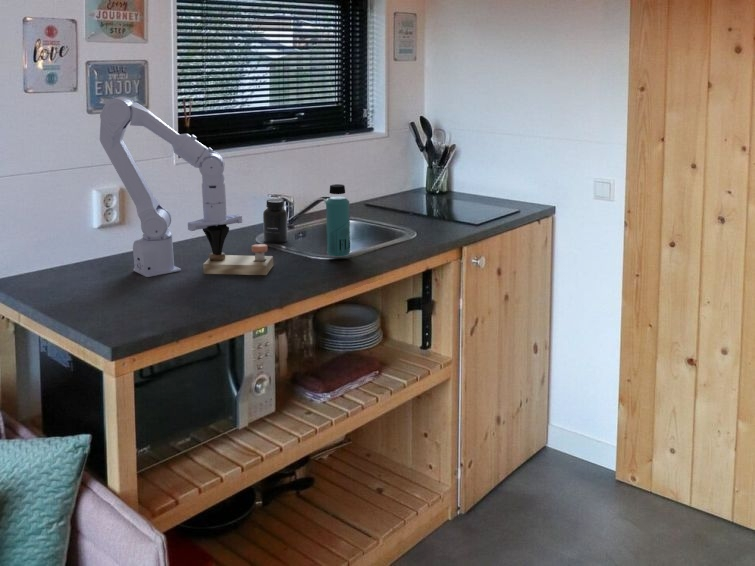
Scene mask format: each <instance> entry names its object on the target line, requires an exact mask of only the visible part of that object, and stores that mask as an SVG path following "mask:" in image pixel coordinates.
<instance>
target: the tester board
mask: <svg viewBox="0 0 755 566" xmlns="http://www.w3.org/2000/svg"><path fill="white" fill-rule="evenodd" d="M202 267H203V268H202V269H203V274H204V275H205V274H207V275H238V276H239V275H247V276H267V275H268V274H269V272H270V271H271V270H272V268H273V267H274V256H272V255H265V260H264V261H256V260H255V255H242V254H241V255H236V254H235V255H233V254H225V259H224V260H222V261H213V260H210V259H209V258H208V259H206V261H205V262H203V263H202Z"/></svg>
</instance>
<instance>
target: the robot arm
mask: <svg viewBox="0 0 755 566" xmlns="http://www.w3.org/2000/svg"><path fill="white" fill-rule="evenodd" d="M99 118H100V119H99V120H100V126H99V127H100V128H99V141H100V144H101V146H102V148H103V149H104V151H105V153H106V155H107V157H108V159H109V160H110V162H111V165H113V167H114V169H115V171H116V173H117V175H118V177H119V179H120V181H122V184H123V186H124V187H125V190H126V191H127V193H128V195H129V196H130V198H131V200H132V202H133V203H134V206H135V209H136V213H137V216H138V218H139V220H140V229H141V232H142V237H141V238H139V239H136V240H134V241H133V243H132V256H133V266H134V268H133V271H134V272H135V273H138V274H140V275H142V276H143V277H145V278H149V277H156V276H160V275H166V274H171V273H175V272H180V271H181V270H182V269H181V268H180V267H178V266H177V265H175V260H174V259H175V258H174V245H173V244H174V243H173V242H174V241H173V233H172V232H171V231H170V229H169V227H170V225H171V223H172V216H171V213H170V212H169V211H168V210H167V208H164V207H163V206H162V205H161V202H160V201H159V200H158V199H157V198H156V196H154V194H153V192H152V190H151V189H150V186H149V185H148V183H147V182H146V180H145V177H144V175H143V174H142V172H141V170H140V168H139V167H138V165H137V163H136V161H135V160H134V158H133V156H132V153H131V152H130V150H129V149H128V147H127V145H126V143H125V142H124V136H125V133H126V131H127V130H126V129H127V127H128V125H129V126H131V127H134V126H135V127H136V126H137V127H144V128H146V129H147V130H148V131H151V132H152V133H153V134H155V135H156V136H158V137H159V138H161V139H162V140H164V141H165V142H167V143H169V144H170V145H171V146H172V149H173V150H172V151H173V153H174V154H176V156H178V157H180V158H181V159H182V160H184V161H185V162H187V163H188V164H189V165H191V166H192V167H194V168H198V169H199V173H200V174H201V178H202V181H201V194H202V212H203V218H200V219H196V220H194V221H193V220H192V221H188V222H187V230H188V231H190V232H195V231H198V230H202V231H203V233H204V235H205V236H206V238H207V240H208V242H209V245H210V247H211V253H213V254H215V255H221V254H222V252H223V247H224V243H225V241H226V238H227V236H228V233H229V232H230V226H229V225H233V224H243V215H240V214H230V215H229V214H228V215H227V199H226V197H227V196H226V183H225V176H224V172H225V171H224V170H225V160H224V158H223V157H222V155H220V153H219V152H217V151H213V150H214V149H212V148H211V147H207V146H206V145H204V144H202V143H201V142H199V140H197V138H198V137H197V136H196V135H195V134H191V135H190V134H189V133H181V134H180V133H178V132H177V131H176V130H175V129H174V128H172V127H171V126H169V125H168V124H167V123H166V122H164V121H163V120H162V119H161V118H159V117H158V116H157V115H155V114H154V113H153V112H152V111H150V110H149V109H148V108H146V107H145V106H143V105H141V104H140V103H138V102H137V101H135V102H134V101H133V99H132V98H131V97H128V96H126V95H118V96H116V97H114V98H112V99H109V100H107V101H106V102H105V104H104V106H103V108H102V110H101V112H100V115H99ZM227 225H228V226H227Z"/></svg>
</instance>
